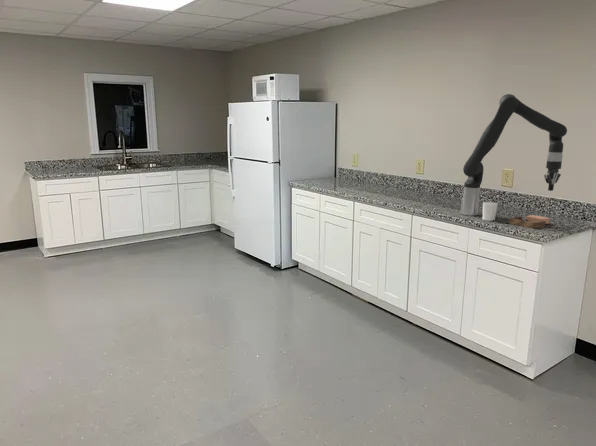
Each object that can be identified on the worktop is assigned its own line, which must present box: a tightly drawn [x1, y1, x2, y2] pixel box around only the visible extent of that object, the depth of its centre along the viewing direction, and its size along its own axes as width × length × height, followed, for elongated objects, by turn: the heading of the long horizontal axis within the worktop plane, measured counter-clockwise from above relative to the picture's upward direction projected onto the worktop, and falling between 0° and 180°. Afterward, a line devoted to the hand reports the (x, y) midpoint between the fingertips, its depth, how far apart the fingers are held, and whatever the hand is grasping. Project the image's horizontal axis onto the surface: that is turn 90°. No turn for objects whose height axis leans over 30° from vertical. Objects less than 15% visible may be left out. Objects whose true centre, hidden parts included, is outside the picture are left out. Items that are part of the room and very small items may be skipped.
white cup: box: [482, 201, 498, 222], centre depth 272 cm, size 8×8×10 cm
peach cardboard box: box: [524, 214, 551, 225], centre depth 265 cm, size 10×7×4 cm
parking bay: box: [508, 216, 546, 229], centre depth 260 cm, size 15×10×3 cm
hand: (550, 190), depth 266 cm, fingers closed
